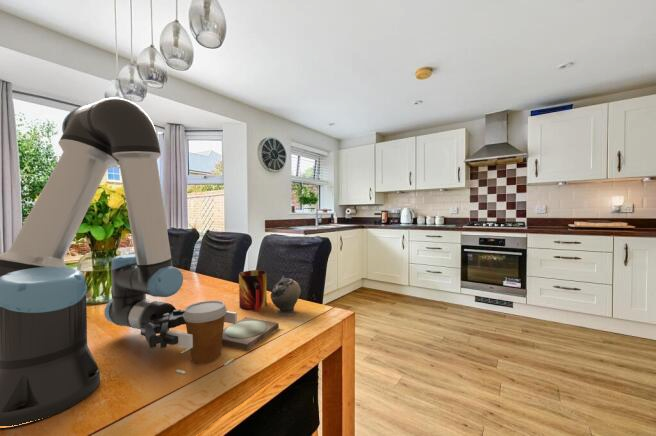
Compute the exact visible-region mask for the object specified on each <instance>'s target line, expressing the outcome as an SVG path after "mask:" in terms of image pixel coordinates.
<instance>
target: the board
mask: <svg viewBox="0 0 656 436" xmlns="http://www.w3.org/2000/svg"><path fill="white" fill-rule="evenodd" d="M279 328H280V327H279V322H274V321H269V320H264V319H259V318H253V317H246V316H245V317H244V318H241V319H240V320H237V323H236V324H232V323H231V324H230V325H228V326H227V327H225V328H223V337H222V345H223V346H226V347H231V348H235V349H239V350H244V351H248V350H250V349H251V348H253V347H254V346H255V345H257V344H258V343H260V342H261V341H263V340H264V339H266V338H267V337H268V336H270V335H271V334H273V333H274V332H275V331H277V330H278V329H279Z"/></svg>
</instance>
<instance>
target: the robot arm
mask: <svg viewBox="0 0 656 436" xmlns="http://www.w3.org/2000/svg"><path fill="white" fill-rule="evenodd" d="M61 127H62V128H61V129H62V135H61V137H60V139H59V141H58V146H59V147H60V149H61V150H62V153H61V155H60V157H59V159H58V161H57V163H56V164H55V167H54V168H53V170H52V172H51V174H50V176H49V177H48V179H47V181H46V182H45V185H44V186H43V188H42V190H41V192H40V194H39V195H38V197H37V199H36V201H35V203H34V205H33V207H32V208H31V210H30V211H29V214H28V216H27V217H26V219H25V221H24V223H23V224H22V226H21V228H20V230H19V231H18V234H17V235H16V237H15V239H14V241H13V243H12V244H11V246H10V248H9V249H8V250H7V251H5V252H3V253H2V252H1V253H0V426H12V425H13V426H14V425H19V424H22V423H26V422H30V421H35V420H38V419H42V418H45V419H47V418H49V417H48V416H50V417H52V416H55V415H57V414H60V413H62V412H64V411H65V410H67V409H69V408H71V407H73V406H75V405H76V404H78V403H80V402H81V401H83V400H85V398H87V397H88V396H90V395H91V394H92V393H93V392H94V391H95V390H96V389H97V388H98V387H99V384H100V382H101V379H100V376H101V375H100V374H101V373H100V368H99V365H98V363H97V362H96V359H95V357H94V356H93V354H92V352H91V350H90V348H89V346H88V319H87V318H88V317H87V316H88V314H87V312H88V311H87V310H88V309H87V305H88V304H87V293H88V285H87V283H86V276H85V274H84V273H83V272H82V271H81V270H79V269H76V268H73V267H68V266H67V264H66V262H65V257H66V255H67V253H68V252H69V249H70V247H71V245H72V242H74V239H75V237H76V235H77V233H78V230H79V228H80V227H81V224H82V222H83V220H84V218H85V216H86V214H87V212H88V210H89V207H90V205H91V204H92V201H93V199H94V198H95V196H96V193H97V191H98V189H99V187H100V185H101V183H102V180H103V178H104V177H105V174H106V172H107V171H108V169H111V168H115V167H117V166H118V164H119V169H120V175H121V182H122V186H123V192H124V198H125V204H126V208H127V216H128V222H129V227H130V228H129V229H130V233H131V239H132V244H133V250H134V253H131V254H129V253H128V254H121V255H117V256H115V257H113V258H112V259H111V269H110V273H111V288H112V298H111V299H110V300H109V301H108V302H107V304H106V307H105V308H104V317H105V320H107V321H108V322H110V323H112V324H114V325H117V326H120V327H122V326H123V327H127V328H132V329H136V330H140V336H143V337H145V339H146V342H147V345H148V347H149V348H150V349H154V348H156V347H157V346H158V344H159V345H160V349H165V348H166V347H168V346H167V345H170V346H177V347H181V348H184V349H191V348H192V347H193V335H192V334H187V332H182V331H178V330H173V329H174V328H177V327H180V326H181V325H186V322H185V320H184V318H183V314H184V312H185V309H176V307H175V306H174V305H173V304H172V303H169V302H163V301H158V300H152V299H147V295H148V296H151V297H155V298H168V297H169V298H170V297H172V296H174V295H175V294H177V293H178V292H179V291H180V290H181V288H182V286H183V282H184V274H183V273H182V271H181V270H180V269H179V268H178V267H175V266H173V260H172V254H171V246H170V241H169V234H168V226H167V220H166V213H165V206H164V205H165V204H164V199H163V193H162V184H161V179H160V172H159V166H158V159H159V158H160V157H161V155H162V153H161V146H160V142H159V141H160V140H159V137H158V134H157V133H158V132H157V131H156V128H155V127H156V126H154V123H153V121H152V120H151V118H150V116H149V115H148V113H147V112H145V110H144V109H143V108H141V107H140V106H139V105H138V104H136V103H135V102H132V101H131V100H129V99H125V98H121V97H107V98H103V99H100V100H98V101H96V102H95V101H94V102H93V103H91V104H88V105H82V106H78V107H76V108H75V109H73V110H71V111H70V112H69V113H68V114H67V115H66V116H65V117H64V119H63V122H62V126H61ZM237 322H238V312H235V311H229V310H227V311H226V314H225V319H224V323H228V324H231V325H232V324H236V323H237ZM63 410H64V411H63ZM56 413H57V414H56ZM54 414H55V415H54ZM46 417H47V418H46ZM42 420H43V419H42Z"/></svg>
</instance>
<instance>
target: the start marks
mask: <svg viewBox="0 0 656 436" xmlns="http://www.w3.org/2000/svg"><path fill="white" fill-rule="evenodd" d="M189 351H190V349H188V348H185V350H182V351H181V352H180V354H181V355H182V354H184V353H186V352H189ZM233 361H235V360H234V359H233V358H231V359H230V360H228V361H227V362H225V363H223V366H226V367H227V365H229V364H231V363H232V362H233ZM175 372H176V373H179V374H181V375H185V374H186V373H187V372H186V371H184V370H181V369H176V370H175Z"/></svg>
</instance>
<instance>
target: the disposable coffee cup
mask: <svg viewBox="0 0 656 436" xmlns="http://www.w3.org/2000/svg"><path fill="white" fill-rule="evenodd" d="M184 310H185V312H184V314H183V318H184V320H185V322H186V324H185V328H186V333H187V334H192V335H193V347H192V348H191V349H190V350H189V352H190V357H191V362H192V363H193V364H197V365H202V364H203V365H204V364H208V363H211V362H215V360H217V359H219V358H220V356H221V353H222V337H223V329H225V328H224V327H225V325H224V324H225V322H224V319H225V314H226V311H228V307H227V306H226V303H225V302H224V301H221V300H204V301H203V300H202V301H200V302H196V303H192V304H189V305H188V306H185V308H184Z"/></svg>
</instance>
